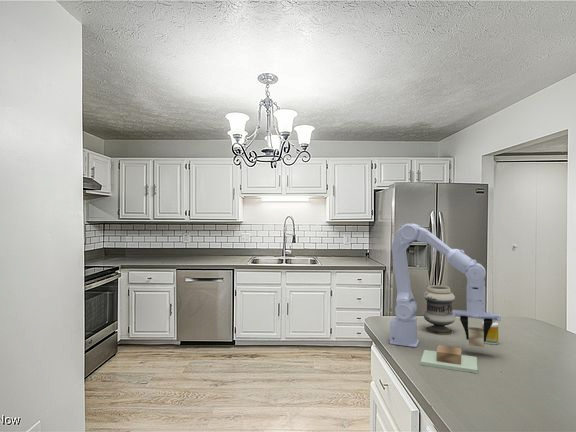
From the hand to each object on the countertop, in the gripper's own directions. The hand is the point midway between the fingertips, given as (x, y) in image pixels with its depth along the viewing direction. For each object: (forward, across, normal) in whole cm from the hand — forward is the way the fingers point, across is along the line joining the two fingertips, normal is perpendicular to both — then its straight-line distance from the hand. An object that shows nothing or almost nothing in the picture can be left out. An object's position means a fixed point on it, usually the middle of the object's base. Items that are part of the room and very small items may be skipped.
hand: (475, 339), depth 129 cm
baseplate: (+5, -8, -12) cm, 15 cm away
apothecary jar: (+5, -13, +24) cm, 28 cm away
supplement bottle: (+5, +5, +16) cm, 18 cm away
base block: (+5, -8, -12) cm, 15 cm away
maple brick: (+1, 0, 0) cm, 1 cm away
